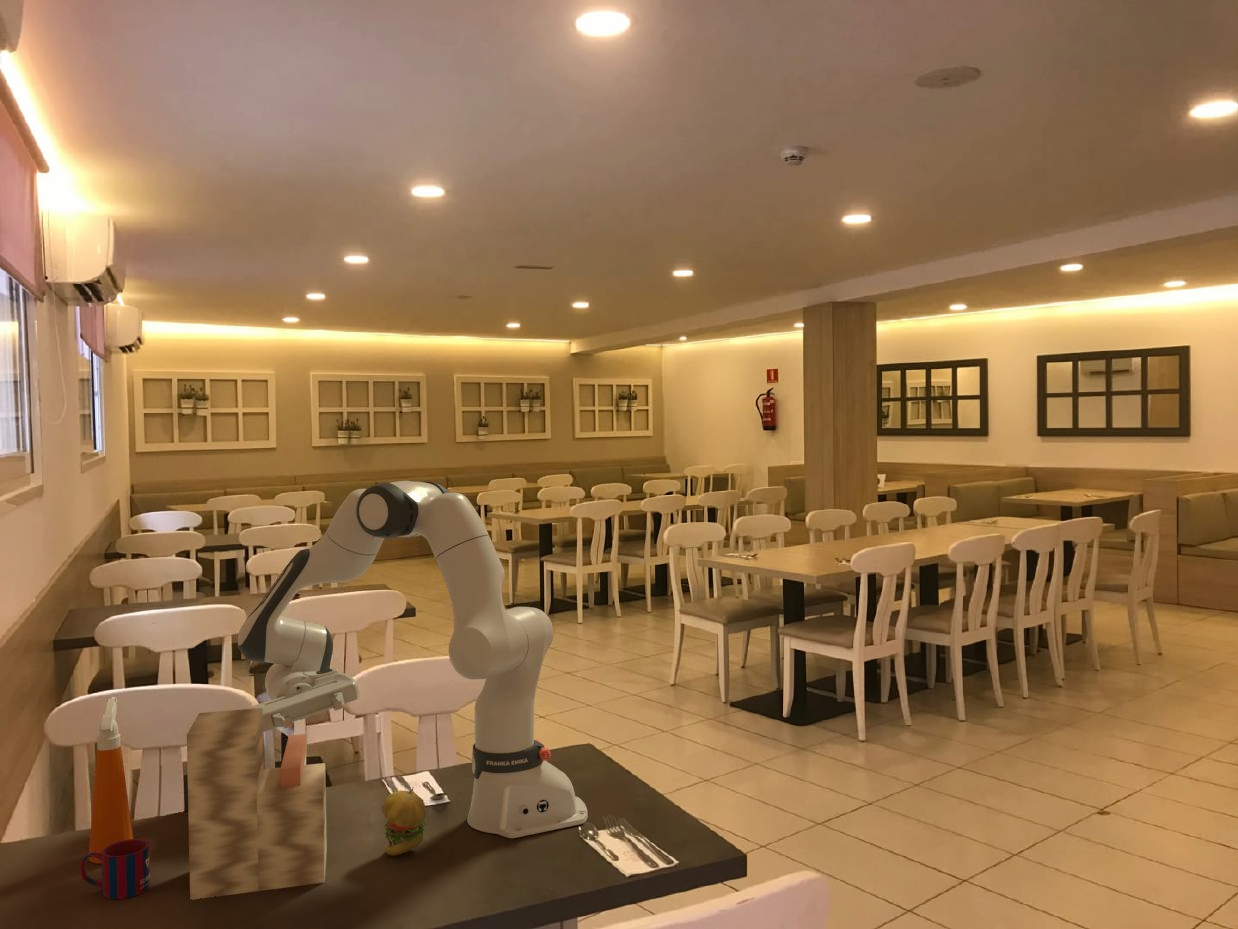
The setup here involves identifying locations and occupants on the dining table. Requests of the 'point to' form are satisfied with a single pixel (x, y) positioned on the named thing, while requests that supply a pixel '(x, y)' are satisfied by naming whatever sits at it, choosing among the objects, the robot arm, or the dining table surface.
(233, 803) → the stepped stand
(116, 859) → the mug
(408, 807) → the hamburger
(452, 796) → the dining table surface
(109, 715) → the spray bottle
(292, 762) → the bar
